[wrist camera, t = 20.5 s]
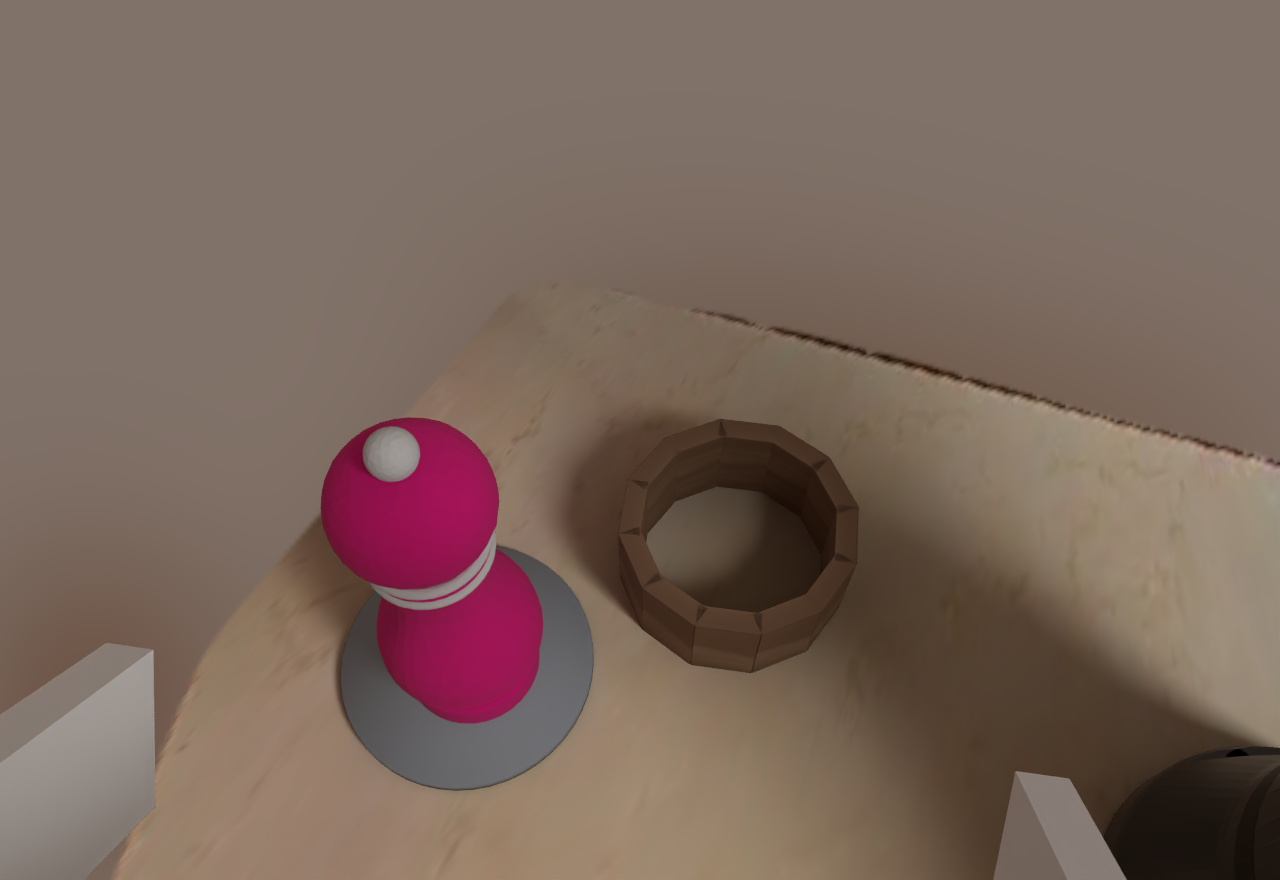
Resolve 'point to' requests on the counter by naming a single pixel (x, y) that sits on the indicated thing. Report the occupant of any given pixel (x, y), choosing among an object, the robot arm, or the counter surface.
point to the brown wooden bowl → (747, 464)
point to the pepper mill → (435, 567)
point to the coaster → (481, 749)
